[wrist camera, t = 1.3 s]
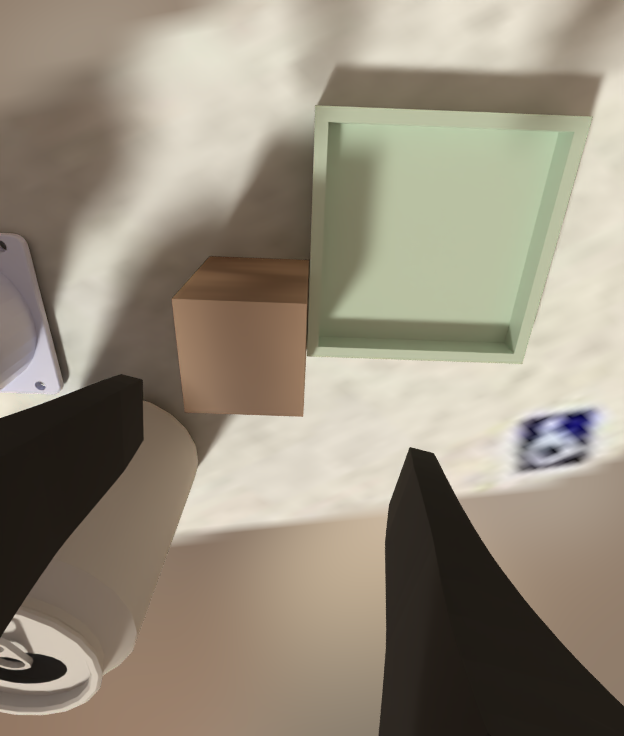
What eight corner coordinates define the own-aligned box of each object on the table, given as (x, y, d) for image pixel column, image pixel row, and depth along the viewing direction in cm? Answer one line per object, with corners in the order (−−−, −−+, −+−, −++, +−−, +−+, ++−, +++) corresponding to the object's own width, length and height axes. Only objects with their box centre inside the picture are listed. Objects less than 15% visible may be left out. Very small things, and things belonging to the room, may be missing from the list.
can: (96, 500, 27) (-48, 738, 16) (44, 396, 23) (-182, 610, 13) (216, 487, 26) (148, 724, 16) (180, 378, 23) (63, 586, 12)
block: (216, 346, 22) (184, 412, 17) (210, 256, 20) (171, 298, 15) (306, 349, 22) (303, 416, 17) (309, 259, 20) (306, 303, 15)
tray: (307, 342, 22) (307, 356, 20) (315, 108, 17) (315, 105, 16) (508, 349, 22) (521, 363, 21) (570, 118, 17) (592, 116, 16)
